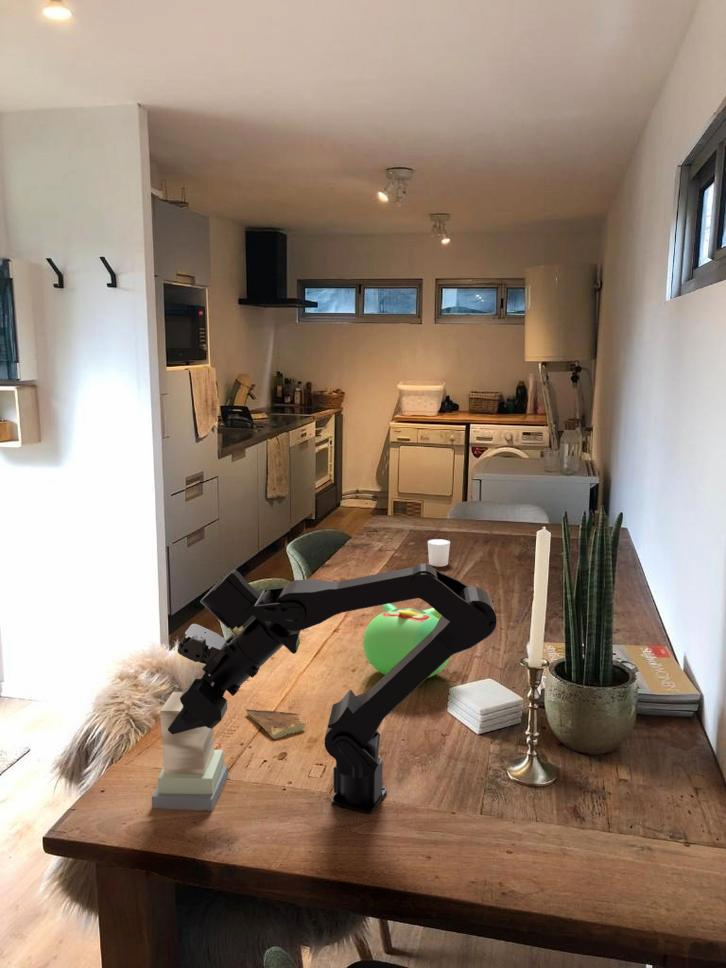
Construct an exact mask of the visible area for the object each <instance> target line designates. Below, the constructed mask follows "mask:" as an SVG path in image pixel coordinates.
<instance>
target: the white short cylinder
mask: <svg viewBox="0 0 726 968" xmlns="http://www.w3.org/2000/svg"><path fill="white" fill-rule="evenodd" d="M450 547H451V541H450V540H447V539H440V538H434V539H429V540H427V550H428V551H427V554H428V565H431V566H432V567H440V568H441V567H445V566H448V563H449V556H450Z"/></svg>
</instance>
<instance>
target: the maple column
mask: <svg viewBox="0 0 726 968" xmlns="http://www.w3.org/2000/svg"><path fill="white" fill-rule="evenodd" d="M183 692H184V691H183ZM183 692H182V691H173V692H172V693H170V696H169V697H168V698H167V700H166V701H165V703H164V705H162V707H161V708H160V710H159V713H160V714H159V715H160V716H159V717H160V729H161V743H162V744H161V747H162V760H163V767H164V773H170V774H204V773H205V771H206V769H207V767H208V765H209V763H210V761H211V759H212V757H213V755H214V750H215V739H214V738H215V737H214V728H213V729H211V728H208V727H206V726H205V727H200V728H195V729H191V730H188V731H184V732H180V733H177V734H171V733H170V732H169V731H168V728H169V726H170V725H171V723H172V722H173V721H174V719H175V718H176V716H177V715H178V714H179V712H180V711H181V709H182V708H183V704H182V703H181V701H180V697H181V695H182V694H183Z"/></svg>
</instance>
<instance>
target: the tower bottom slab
mask: <svg viewBox="0 0 726 968" xmlns="http://www.w3.org/2000/svg"><path fill="white" fill-rule="evenodd" d="M228 777H229V768H228V765H225V764H224V765H223V768H222V771H221V773H220V776H219V779H218V781H217V784H216V787H215V790H214V792H213V794H159V790H158V786H157V787H156V789H155V790H154V791H153V793H152V796H151V808H152V809H163V810H164V809H166V810H167V809H169V810H184V809H185V810H188V811H203V810H208V811H207V812H213V811H214V809H215V807H216V804H217V802H218V800H217V799H219V798H220V795H221V793H222V791H221V790H223V789H222V787H223V786H225V785H226V782H227V781H228ZM223 788H224V787H223ZM220 792H221V793H220ZM219 794H220V795H219ZM218 797H219V798H218ZM216 801H217V802H216ZM214 806H215V807H214Z"/></svg>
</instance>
